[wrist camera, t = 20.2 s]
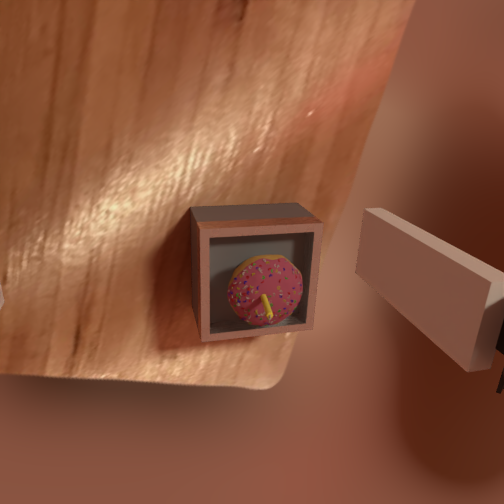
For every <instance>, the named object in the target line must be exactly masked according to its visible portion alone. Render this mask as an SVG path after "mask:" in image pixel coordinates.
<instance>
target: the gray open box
mask: <svg viewBox="0 0 504 504" xmlns="http://www.w3.org/2000/svg"><path fill="white" fill-rule="evenodd" d="M293 217H314V215H313V214H311V213H310V212H309V211H307V210H306V209H305V208H303V207H302V206H301V205H300V204H298V203H281V204H255V205H229V206H203V207H190V224H191V270H192V308H193V312H194V316H195V319H196V323H197V327H198V272H197V222H208V221H229V220H250V219H271V218H293ZM305 236H306V232H302V233H285V234H267V235H249V236H232V237H214V238H209V262H210V323H212V322H221V321H231V320H240V317H239V316H238V315H237V314H236V313H235V311H234V310H233V308H232V307H231V304H230V303H229V301H228V297H227V291H228V285H229V282H230V280H231V278H232V275H233V272H234V270H235V269H236V268H237V267H238V266H239V265H240V264H241V263H242V262H243V261H245V260H246V259H248V258H251V257H254V256H258V255H282V256H284V257H285V258H286V259H288V260H289V261H290V262H291V263H292V264H293V265H294V266H295V267H296V268H297V269H298V270H299V271H300V273H301V275H302V271H303V260H304V248H305ZM299 303H300V301H299ZM299 307H300V304H298V305H297V307H296V309H295V311H294V312H293V313H292V314H297V313H299Z"/></svg>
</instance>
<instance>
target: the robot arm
mask: <svg viewBox="0 0 504 504" xmlns="http://www.w3.org/2000/svg"><path fill="white" fill-rule="evenodd" d="M355 273H356V274H357V275H359V276H360V277H361V278H362V279H363V280H364V281H365V282H366V283H367V284H369V285H370V286H371V287H372V288H373V289H374V290H375V291H376V292H378V293H379V294H380V295H381V296H382V297H383V298H384V299H385V300H387V301H388V302H389V303H390V304H391V305H392V306H393V307H394V308H396V309H397V310H398V311H399V312H400V313H401V314H402V315H404V316H405V317H406V318H407V319H408V320H409V321H410V322H411V323H413V324H414V325H415V326H416V327H417V328H418V329H419V330H420V331H422V332H423V333H424V334H425V335H426V336H427V337H428V338H429V339H431V340H432V341H433V342H434V343H435V344H436V345H437V346H438V347H440V348H441V349H442V350H443V351H444V352H445V353H446V354H448V355H449V356H450V357H451V358H452V359H453V360H454V361H456V363H458V364H459V365H460V366H461V367H462V368H463V369H464V370H465V371H467V372H472V371H478V370H484V369H490V368H491V365H492V362H493V358H494V355H495V352H496V349H497V350H498V351H500V352H501V353H502V354H504V273H502V272H501V271H499V270H497V269H495V268H493V267H491V266H490V265H488V264H486V263H484V262H482V261H480V260H478V259H476V258H474V257H473V256H471V255H469V254H467V253H465V252H463V251H461V250H459V249H458V248H456V247H454V246H452V245H450V244H448V243H446V242H445V241H443V240H441V239H439V238H437V237H435V236H433V235H431V234H429V233H427V232H426V231H424V230H422V229H420V228H418V227H416V226H415V225H413V224H411V223H409V222H407V221H405V220H403V219H401V218H400V217H398V216H396V215H394V214H392V213H390V212H388V211H386V210H385V209H383V208H370V209H369V208H367V209H364V213H363V220H362V228H361V235H360V242H359V249H358V257H357V264H356V271H355ZM3 304H4V298H3V293H2V288H1V283H0V309H1V307H2V306H3ZM502 389H504V368H503V372H502V375H501V378H500V382H499V385H498V388H497V391H496V392H497V393H501V392H502Z"/></svg>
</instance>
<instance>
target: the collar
mask: <svg viewBox="0 0 504 504" xmlns="http://www.w3.org/2000/svg"><path fill="white" fill-rule="evenodd" d="M302 232H306V236H305V248H304V260H303V271H302V283H303V292H302V296H301V299H300V307H299V313H297V314H291V315H289V316H288V318H285V319H284V320H282V322H281V321H280V322H279V323H278V324H274V325H268V326H262V327H261V326H256V325H251V324H250V325H249V323H248V322H245V321H244V320H242V319H240V320H231V321H221V322H212V323H210V262H209V238H214V237H232V236H249V235H267V234H285V233H302ZM322 233H323V222H322V221H320V220H319V219H318V218H316V217H315V216H314V217H293V218H271V219H250V220H229V221H208V222H197V272H198V331H199V335H200V339H201V342H209V341H218V340H226V339H235V338H243V337H252V336H261V335H269V334H278V333H286V332H295V331H304V330H312V329H313V322H314V313H315V302H316V293H317V283H318V273H319V263H320V253H321V243H322Z"/></svg>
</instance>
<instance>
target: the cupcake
mask: <svg viewBox="0 0 504 504" xmlns="http://www.w3.org/2000/svg"><path fill="white" fill-rule="evenodd" d="M302 292H303V283H302V275H301V273H300V271H299V270H298V269H297V268H296V267H295V266H294V265H293V264H292V263H291V262H290V261H289V260H288V259H286V258H285V257H284V256H282V255H258V256H254V257H251V258H248V259H246V260H245V261H243V262H242V263H241V264H240V265H239V266H238V267H237V268H236V269H235V270H234V272H233V275H232V278H231V280H230V282H229V285H228V291H227V297H228V301H229V303H230V304H231V307H232V308H233V310H234V311H235V313H236V314H237V315H238V316H239V317H240V319H242V320H244V321H245V322H248V323H249V325H250V324H251V325H256V326H261V327H262V326H268V325H274V324H278V323H279V322H280V321H281V322H282V320H284V319H285V318H288V316H289V315H291V314H292V313H293V312H294V311H295V309H296V307H297V305H298V304H300V303H299V301H300V299H301V296H302Z"/></svg>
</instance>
